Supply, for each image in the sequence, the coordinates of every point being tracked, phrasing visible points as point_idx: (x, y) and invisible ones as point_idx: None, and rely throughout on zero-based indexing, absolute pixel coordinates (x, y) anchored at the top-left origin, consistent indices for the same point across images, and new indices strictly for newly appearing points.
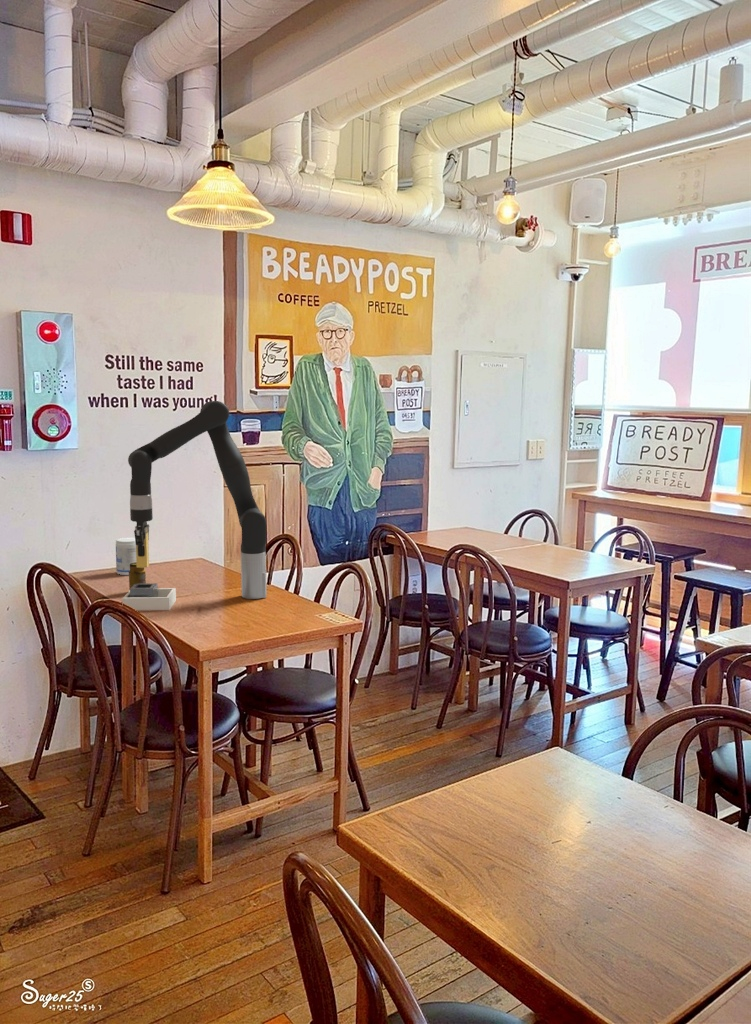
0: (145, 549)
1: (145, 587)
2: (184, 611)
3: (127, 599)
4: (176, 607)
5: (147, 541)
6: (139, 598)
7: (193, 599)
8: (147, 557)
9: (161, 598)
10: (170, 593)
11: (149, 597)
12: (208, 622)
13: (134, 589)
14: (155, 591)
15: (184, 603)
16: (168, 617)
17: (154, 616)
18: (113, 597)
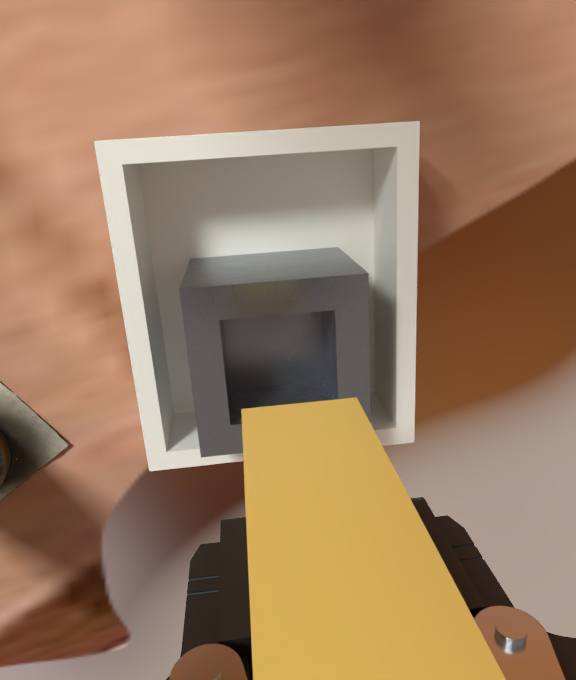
0: (430, 547)
1: (224, 364)
2: (387, 13)
3: (411, 409)
4: (281, 101)
5: (349, 656)
6: (415, 338)
7: (38, 12)
8: (335, 458)
9: (416, 181)
10: (282, 142)
11: (403, 275)
12: None
13: (368, 407)
14: (267, 271)
15: (167, 63)
16: (525, 97)
17: (492, 197)
18: (67, 552)
